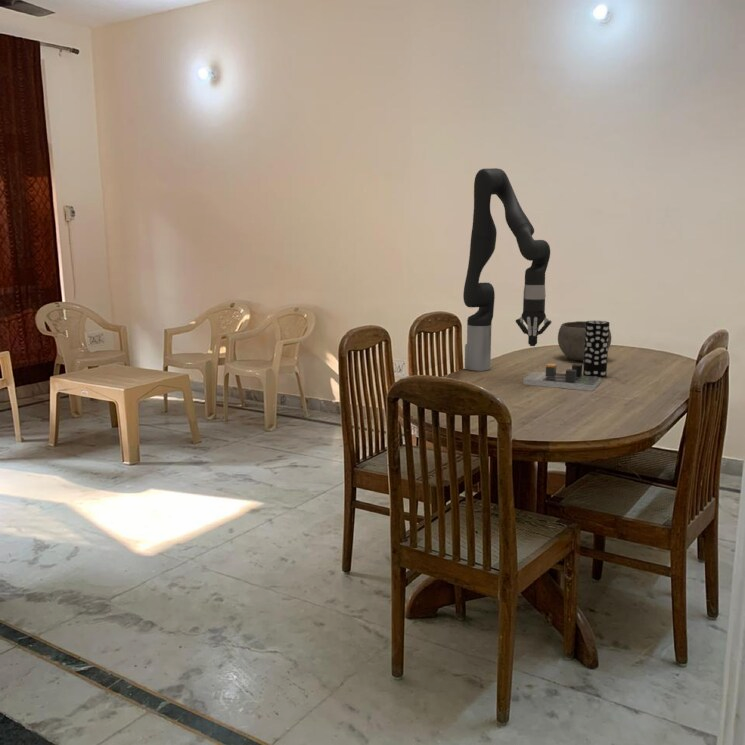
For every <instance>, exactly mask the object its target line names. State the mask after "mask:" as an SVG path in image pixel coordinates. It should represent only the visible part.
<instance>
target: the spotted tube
mask: <svg viewBox="0 0 745 745" xmlns="http://www.w3.org/2000/svg"><path fill="white" fill-rule="evenodd" d="M609 329H610V322H609V321H606V320H587V321H586V328H585V347H584V361H583V365H582V376H592V377H601V379H604V378H607V373H608V370H607V368H608V352H609V349H608V339H609Z"/></svg>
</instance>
